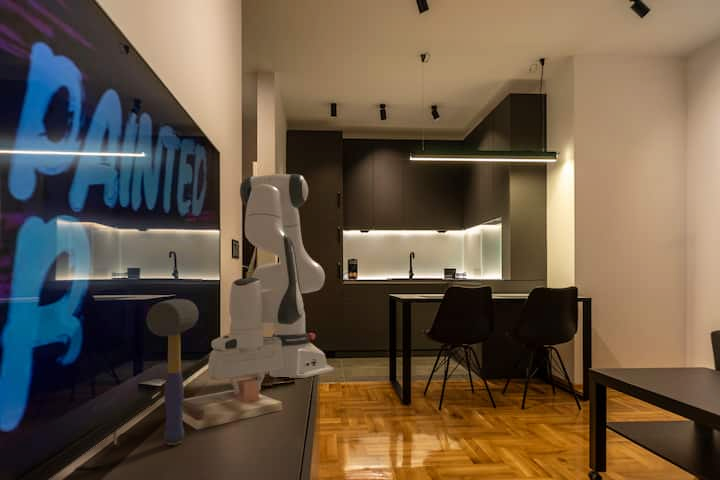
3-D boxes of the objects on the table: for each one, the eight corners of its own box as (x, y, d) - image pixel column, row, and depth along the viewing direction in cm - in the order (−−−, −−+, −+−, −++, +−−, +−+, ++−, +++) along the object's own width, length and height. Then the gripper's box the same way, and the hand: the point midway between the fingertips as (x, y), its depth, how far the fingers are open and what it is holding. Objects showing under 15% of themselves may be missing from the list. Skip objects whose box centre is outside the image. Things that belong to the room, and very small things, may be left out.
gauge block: (250, 396, 131) (250, 377, 131) (258, 399, 127) (258, 380, 127) (236, 398, 128) (236, 379, 129) (244, 402, 125) (244, 382, 125)
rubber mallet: (180, 454, 94) (180, 300, 97) (142, 455, 94) (143, 301, 97) (202, 433, 107) (201, 297, 109) (168, 434, 107) (168, 298, 109)
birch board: (256, 400, 134) (256, 385, 135) (282, 410, 123) (281, 394, 124) (176, 416, 120) (176, 400, 121) (197, 429, 110) (196, 411, 110)
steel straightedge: (256, 392, 134) (256, 385, 135) (259, 393, 133) (259, 386, 133) (176, 408, 121) (176, 400, 121) (178, 409, 119) (178, 401, 120)
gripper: (275, 334, 138) (276, 383, 137) (205, 342, 125) (205, 396, 124) (286, 335, 133) (287, 387, 132) (215, 344, 120) (215, 401, 119)
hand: (247, 391), depth 128 cm, fingers closed on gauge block, 4 cm apart
